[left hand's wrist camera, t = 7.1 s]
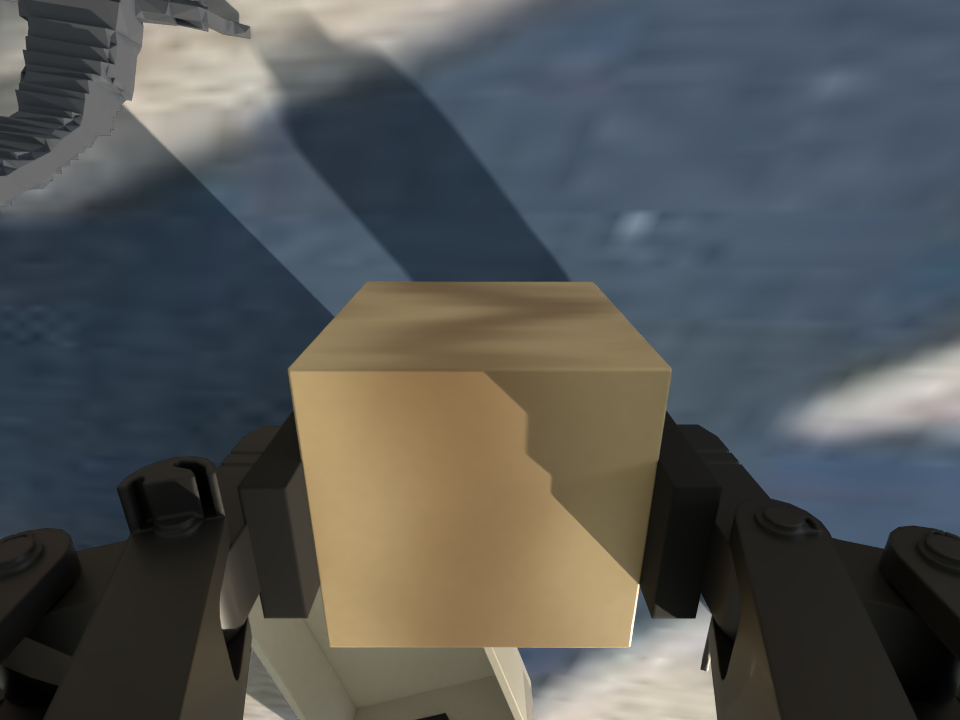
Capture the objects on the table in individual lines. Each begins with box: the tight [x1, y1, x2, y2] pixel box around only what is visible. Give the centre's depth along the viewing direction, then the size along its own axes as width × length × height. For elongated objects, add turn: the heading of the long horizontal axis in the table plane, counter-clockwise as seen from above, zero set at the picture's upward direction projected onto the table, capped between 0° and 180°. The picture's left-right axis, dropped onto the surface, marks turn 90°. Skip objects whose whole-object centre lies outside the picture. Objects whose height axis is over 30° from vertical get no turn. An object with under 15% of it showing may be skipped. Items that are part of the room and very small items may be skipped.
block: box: [288, 282, 672, 648], centre depth 12 cm, size 6×6×6 cm
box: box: [248, 587, 534, 720], centre depth 34 cm, size 25×15×12 cm, turn 18°
